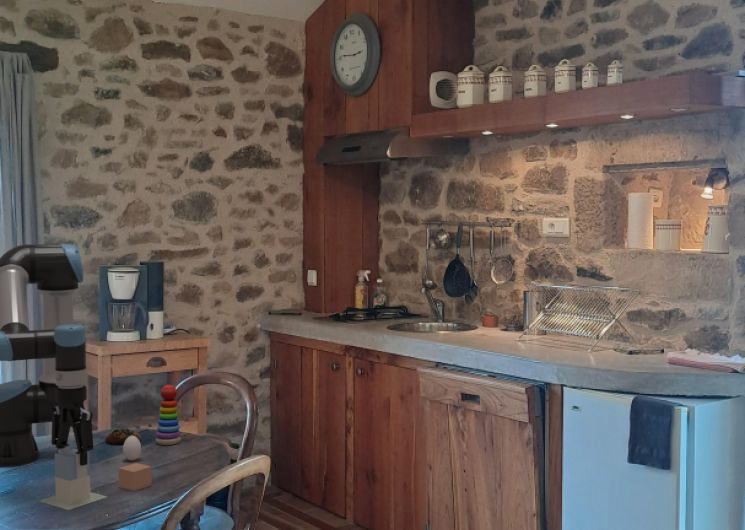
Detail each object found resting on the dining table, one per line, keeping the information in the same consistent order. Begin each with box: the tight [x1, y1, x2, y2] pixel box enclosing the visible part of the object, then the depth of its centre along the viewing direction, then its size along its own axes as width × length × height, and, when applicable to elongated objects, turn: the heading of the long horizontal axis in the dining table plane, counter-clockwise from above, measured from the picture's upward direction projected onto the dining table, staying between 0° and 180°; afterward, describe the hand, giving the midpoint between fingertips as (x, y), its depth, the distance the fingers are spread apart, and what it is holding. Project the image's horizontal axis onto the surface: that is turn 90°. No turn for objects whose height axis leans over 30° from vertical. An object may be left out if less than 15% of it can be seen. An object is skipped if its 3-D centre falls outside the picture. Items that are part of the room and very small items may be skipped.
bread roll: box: [105, 428, 142, 447], centre depth 283 cm, size 11×11×5 cm
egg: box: [122, 436, 142, 461], centre depth 261 cm, size 5×5×7 cm
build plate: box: [39, 491, 108, 511], centre depth 224 cm, size 12×12×1 cm
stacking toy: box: [155, 384, 182, 446], centre depth 281 cm, size 8×8×19 cm
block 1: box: [54, 448, 91, 481], centre depth 223 cm, size 6×6×6 cm
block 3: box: [118, 462, 153, 492], centre depth 234 cm, size 6×6×6 cm
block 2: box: [54, 474, 91, 504], centre depth 223 cm, size 6×6×6 cm
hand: (72, 475), depth 223 cm, fingers open, 6 cm apart
